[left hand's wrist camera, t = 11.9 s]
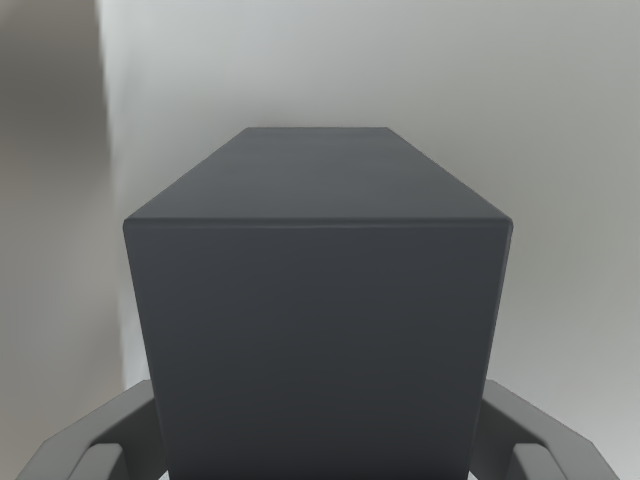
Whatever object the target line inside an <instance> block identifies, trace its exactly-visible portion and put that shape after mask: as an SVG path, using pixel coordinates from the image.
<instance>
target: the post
mask: <svg viewBox="0 0 640 480" xmlns="http://www.w3.org/2000/svg"><path fill="white" fill-rule="evenodd" d="M123 232H124V237H125V243H126V248H127V253H128V259H129V264H130V270H131V275H132V280H133V286H134V291H135V296H136V302H137V307H138V312H139V318H140V323H141V329H142V334H143V339H144V345H145V350H146V355H147V361H148V366H149V371H150V377H151V382H152V387H153V393H154V398H155V404H156V409H157V414H158V420H159V425H160V430H161V436H162V441H163V446H164V452H165V457H166V463H167V468H168V473H169V479H170V480H467V479H468V473H469V468H470V462H471V457H472V451H473V446H474V440H475V435H476V429H477V424H478V418H479V413H480V407H481V402H482V396H483V391H484V385H485V380H486V374H487V369H488V363H489V358H490V352H491V347H492V341H493V336H494V331H495V325H496V320H497V314H498V309H499V303H500V298H501V292H502V287H503V281H504V276H505V270H506V265H507V259H508V254H509V248H510V243H511V237H512V232H513V222H512V219H511V218H509V217H508V216H507V215H505V214H504V213H503V212H501V211H500V210H499V209H497V208H496V207H495V206H493V205H492V204H490V203H489V202H488V201H486V200H485V199H484V198H482V197H481V196H480V195H478V194H477V193H476V192H474V191H473V190H472V189H470V188H469V187H467V186H466V185H465V184H463V183H462V182H461V181H459V180H458V179H457V178H455V177H454V176H453V175H451V174H450V173H449V172H447V171H446V170H445V169H443V168H442V167H440V166H439V165H438V164H436V163H435V162H434V161H432V160H431V159H430V158H428V157H427V156H426V155H424V154H423V153H422V152H420V151H419V150H417V149H416V148H415V147H413V146H412V145H411V144H409V143H408V142H407V141H405V140H404V139H403V138H401V137H400V136H399V135H397V134H396V133H395V132H393V131H392V130H390V129H389V128H246V129H245V130H243V131H242V132H241V133H239V134H238V135H237V136H235V137H234V138H233V139H231V140H230V141H229V142H227V143H226V144H225V145H223V146H222V147H221V148H219V149H218V150H217V151H215V152H214V153H213V154H211V155H210V156H209V157H208V158H206V159H205V160H204V161H202V162H201V163H200V164H198V165H197V166H196V167H194V168H193V169H192V170H190V171H189V172H188V173H186V174H185V175H184V176H182V177H181V178H180V179H178V180H177V181H176V182H174V183H173V184H172V185H170V186H169V187H168V188H166V189H165V190H164V191H162V192H161V193H160V194H158V195H157V196H156V197H154V198H153V199H152V200H150V201H149V202H148V203H146V204H145V205H144V206H142V207H141V208H140V209H139V210H137V211H136V212H135V213H133V214H132V215H131V216H129V217H128V218H127V219H125V220H124V224H123Z"/></svg>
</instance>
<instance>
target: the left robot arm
mask: <svg viewBox="0 0 640 480" xmlns="http://www.w3.org/2000/svg"><path fill="white" fill-rule="evenodd" d="M167 470H168V468H167V463H166V457H165V452H164V446H163V441H162V436H161V430H160V425H159V420H158V414H157V409H156V404H155V398H154V393H153V387H152V382H151V378H150V380H143V381H141V382H140V383H138V384H136V385H135V386H133V387H131V388H130V389H128V390H127V391H125V392H123V393H122V394H120V395H119V396H117V397H115V398H114V399H112V400H110V401H109V402H107V403H106V404H104V405H102V406H101V407H99V408H98V409H96V410H94V411H93V412H91V413H89V414H88V415H86V416H85V417H83V418H81V419H80V420H78V421H77V422H75V423H73V424H72V425H70V426H68V427H67V428H65V429H64V430H62V431H60V432H59V433H57V434H55V435H54V436H52V437H51V438H49V439H47V440H46V441H44V442H43V444H42V445H41V446H40V448H39V449H38V450H37V452H36V453H35V454H34V455H33V457H32V458H31V459H30V461H29V462H28V463H27V465H26V466H25V467H24V469H23V470H22V471H21V473H20V474H19V475H18V477H17V478H16V479H15V480H158V479H159V478H160V477H161V476H162V475H163V474H164V473H165V472H166V471H167ZM469 471H470V472H471V473H472V474H473V475H474V476H475V477H476V478H477V479H478V480H620V479H619V478H618V477H617V475H616V474H615V473H614V471H613V470H612V469H611V467H610V466H609V465H608V463H607V462H606V460H605V459H604V458H603V456H602V455H601V454H600V452H599V451H598V450H597V448H596V447H595V446H594V444H593V443H592V442H591V441H589V440H588V439H586V438H584V437H583V436H581V435H580V434H578V433H576V432H575V431H573V430H572V429H570V428H568V427H567V426H565V425H564V424H562V423H560V422H559V421H557V420H556V419H554V418H552V417H551V416H549V415H548V414H546V413H544V412H543V411H541V410H540V409H538V408H537V407H535V406H533V405H532V404H530V403H529V402H527V401H525V400H524V399H522V398H521V397H519V396H517V395H516V394H514V393H513V392H511V391H509V390H508V389H506V388H505V387H503V386H501V385H500V384H498V383H497V382H495V381H493V380H485V385H484V391H483V396H482V402H481V407H480V413H479V418H478V424H477V429H476V435H475V440H474V446H473V451H472V457H471V462H470V468H469Z"/></svg>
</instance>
